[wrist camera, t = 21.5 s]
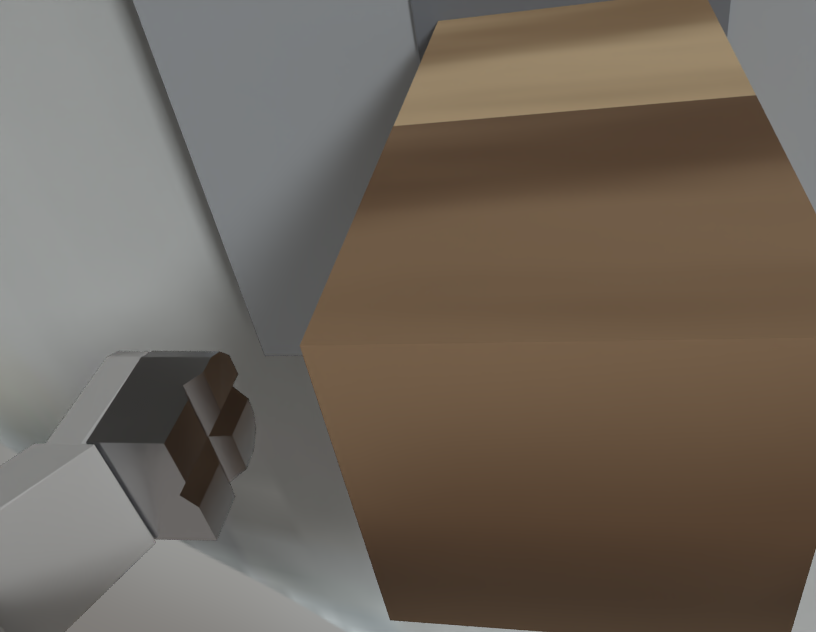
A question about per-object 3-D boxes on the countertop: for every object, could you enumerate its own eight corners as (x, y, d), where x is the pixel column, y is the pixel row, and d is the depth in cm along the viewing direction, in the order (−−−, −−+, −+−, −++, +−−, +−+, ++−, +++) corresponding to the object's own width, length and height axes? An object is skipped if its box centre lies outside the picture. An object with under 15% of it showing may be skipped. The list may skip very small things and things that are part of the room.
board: (104, -166, 15) (71, -158, 14) (1187, -381, 11) (1252, -391, 10) (277, 329, 23) (263, 357, 22) (940, 316, 18) (961, 350, 18)
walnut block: (393, 126, 11) (299, 344, 7) (755, 94, 10) (878, 336, 6) (438, 372, 14) (389, 620, 10) (719, 371, 13) (785, 649, 9)
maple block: (438, 21, 15) (393, 126, 11) (702, -11, 14) (756, 95, 10) (466, 232, 18) (439, 373, 14) (684, 221, 17) (720, 371, 13)
